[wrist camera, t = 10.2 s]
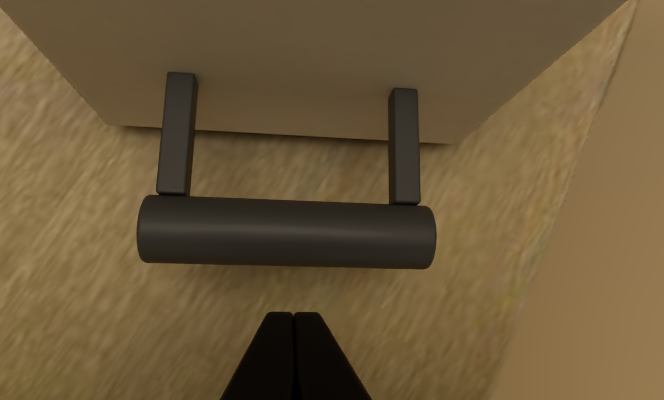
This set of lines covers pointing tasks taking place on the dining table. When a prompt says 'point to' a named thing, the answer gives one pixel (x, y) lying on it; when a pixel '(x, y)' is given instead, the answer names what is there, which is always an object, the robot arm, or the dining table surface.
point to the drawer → (300, 103)
